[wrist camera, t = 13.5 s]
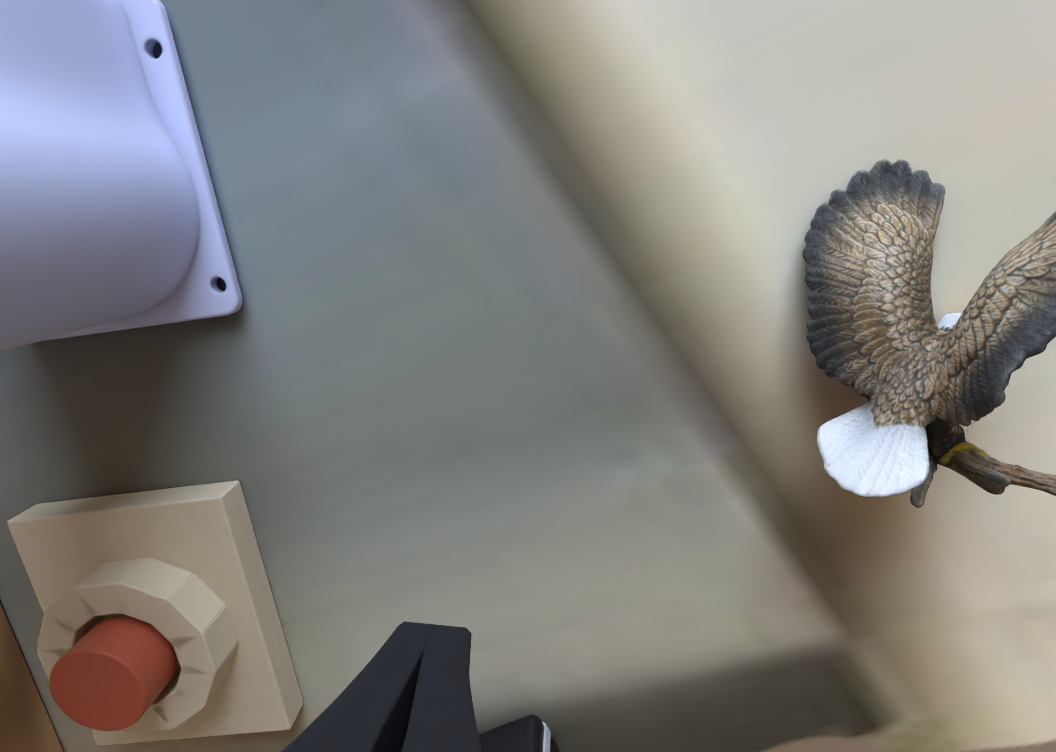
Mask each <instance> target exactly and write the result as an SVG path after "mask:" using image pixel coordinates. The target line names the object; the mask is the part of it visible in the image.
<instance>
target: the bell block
mask: <svg viewBox="0 0 1056 752" xmlns="http://www.w3.org/2000/svg"><path fill="white" fill-rule="evenodd" d="M7 525H8V527H9V530H10V532H11V535H12V537H13V539H14V542H15V544H16V547H17V549H18V552H19V554H20V557H21V559H22V562H23V564H24V566H25V569H26V571H27V574H28V576H29V579H30V581H31V584H32V586H33V589H34V591H35V594H36V596H37V598H38V601H39V603H40V606H41V608H42V611H43V613H44V615H43V619H42V624H41V629H40V634H39V639H38V643H37V650H36V652H37V654H38V656H39V659H40V661H41V663H42V666H43V668H44V671H45V673H46V675H47V678H48V680H50V674H51V671H52V668H53V666H54V665H55V663H56V662H57V661H58V660H59V659H60V658H61V657H62V656H63V655H64V654H65V653H66V652H67V651H68V650H69V649H70V648H72V647H73V646H74V645H75V644H76V643H77V642H78V641H79V640H80V639H81V638H82V637H83V636H84V635H86V634H87V633H88V632H89V631H90V630H91V629H92V628H93V627H94V626H95V625H96V624H98V623H99V622H101V621H103V620H106V619H109V618H112V617H119V616H125V617H133V618H136V619H138V620H141V621H144V622H147V623H149V624H151V625H152V626H154V627H155V628H156V629H157V630H158V631H159V632H160V633H161V634H162V635H163V636H164V637H165V638H166V639H167V640H168V641H170V643H171V645H172V647H173V649H174V652H175V655H176V668H175V672H174V675H173V677H172V679H171V680H170V682H169V683H168V684H167V685H166V687H165V688H164V689H163V690H162V692H161V693H160V694H159V695H158V697H157V698H156V699H155V700H154V702H153V703H152V704H151V705H150V707H149V708H148V709H147V710H146V712H145V713H144V714H143V715H142V717H141V718H140V719H139V720H138V721H137V722H135V723H134V724H132V725H131V726H129V727H126V728H124V729H120V730H115V731H101V730H96V729H92V728H90V729H91V731H92V734H93V736H94V739H95V741H96V743H97V745H98V746H103V745H115V744H127V743H139V742H151V741H163V740H175V739H187V738H199V737H211V736H223V735H235V734H247V733H258V732H270V731H282V730H290V729H291V727H292V725H293V723H294V721H295V719H296V717H297V715H298V713H299V711H300V709H301V707H302V705H303V699H302V695H301V692H300V688H299V685H298V681H297V678H296V675H295V671H294V668H293V664H292V661H291V657H290V654H289V650H288V647H287V643H286V640H285V637H284V633H283V630H282V626H281V623H280V619H279V616H278V612H277V609H276V606H275V602H274V599H273V595H272V592H271V588H270V585H269V581H268V578H267V575H266V571H265V568H264V564H263V561H262V557H261V554H260V550H259V547H258V543H257V540H256V537H255V533H254V530H253V526H252V523H251V519H250V516H249V512H248V509H247V506H246V502H245V499H244V495H243V492H242V488H241V485H240V482H239V481H238V480H237V481H228V482H220V483H211V484H203V485H194V486H185V487H177V488H168V489H160V490H151V491H143V492H134V493H126V494H117V495H109V496H100V497H91V498H83V499H74V500H66V501H57V502H49V503H40V504H36V505H34V506H32V507H31V508H29V509H27V510H26V511H24V512H22V513H20V514H19V515H17V516H15V517H14V518H12V519H10V520H9V521H7Z"/></svg>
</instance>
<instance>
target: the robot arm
mask: <svg viewBox="0 0 1056 752" xmlns="http://www.w3.org/2000/svg"><path fill="white" fill-rule="evenodd" d="M158 42H159V43H160V45H161V47H162V54H161V56H160V57H159V58H157V59H156V58H155V56H154V54H153V47H154V45H155V44H156V43H158ZM218 277H220V278H222V279H223V280H224V281H225V283H226V290H225V291H221V290H220V289H219V288H218V286H217V279H218ZM242 303H243V301H242V294H241V290H240V287H239V283H238V279H237V275H236V272H235V268H234V264H233V260H232V257H231V253H230V249H229V245H228V241H227V238H226V234H225V230H224V226H223V223H222V219H221V215H220V211H219V208H218V204H217V200H216V196H215V193H214V189H213V185H212V181H211V178H210V174H209V170H208V166H207V162H206V159H205V155H204V151H203V147H202V144H201V140H200V136H199V132H198V129H197V125H196V121H195V117H194V114H193V110H192V106H191V102H190V98H189V95H188V91H187V87H186V83H185V80H184V76H183V72H182V68H181V65H180V61H179V57H178V53H177V50H176V46H175V42H174V38H173V35H172V31H171V27H170V23H169V19H168V16H167V12H166V10H165V7H164V5H163V4H162V3H161V2H160V1H159V0H0V352H2V351H5V350H9V349H13V348H16V347H20V346H24V345H27V344H31V343H34V342H38V341H46V340H53V339H60V338H67V337H74V336H82V335H89V334H96V333H103V332H110V331H118V330H125V329H132V328H139V327H146V326H154V325H161V324H168V323H175V322H182V321H190V320H197V319H204V318H211V317H218V316H226V315H229V314H232V313H235V312H237V311H238V310H239V309H240V308H241V306H242ZM470 648H471V633H470V632H469V630H468V629H467V628H464V627H453V626H443V625H433V624H423V623H413V622H403V623H402V624H400V625H399V626H398V627H397V628H396V630H395V631H394V632H393V634H392V635H391V636H390V637H389V639H388V640H387V641H386V642H385V644H384V645H383V646H382V647H381V649H380V650H379V651H378V652H377V654H376V655H375V656H374V657H373V658H372V659H371V661H370V662H369V663H368V664H367V665H366V667H365V668H364V669H363V670H362V671H361V672H360V673H359V674H358V676H357V677H356V678H355V679H354V680H353V681H352V682H351V683H350V684H349V685H348V687H347V688H346V689H345V690H344V691H343V692H342V693H341V694H340V695H339V696H338V697H337V698H336V700H335V701H334V702H333V703H332V704H331V705H330V706H329V707H328V708H327V709H326V710H325V711H324V712H323V713H322V714H321V715H320V716H318V717H317V718H316V719H315V720H314V721H313V722H312V723H311V724H310V725H309V726H308V727H307V728H306V729H305V730H304V731H303V732H302V733H301V734H300V735H299V736H298V737H297V738H296V739H295V740H294V741H292V742H291V743H290V744H289V745H288V746H287V747H286V748H285V749H284V750H282V751H281V752H482V748H481V744H480V740H479V736H478V731H477V726H476V721H475V715H474V709H473V703H472V696H471V689H470V680H469V665H470Z"/></svg>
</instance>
